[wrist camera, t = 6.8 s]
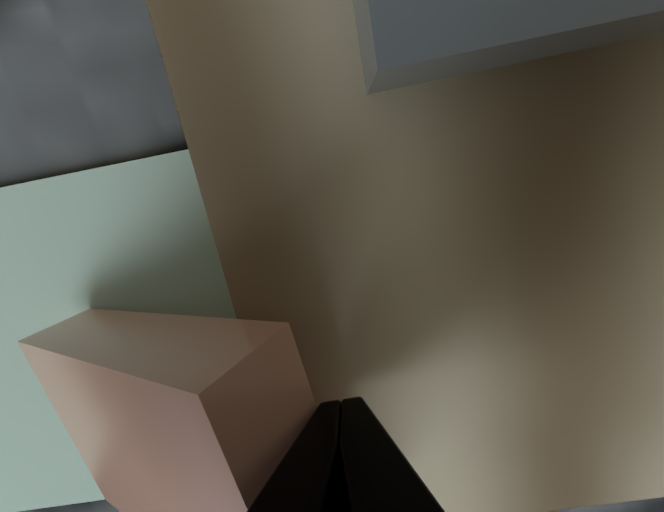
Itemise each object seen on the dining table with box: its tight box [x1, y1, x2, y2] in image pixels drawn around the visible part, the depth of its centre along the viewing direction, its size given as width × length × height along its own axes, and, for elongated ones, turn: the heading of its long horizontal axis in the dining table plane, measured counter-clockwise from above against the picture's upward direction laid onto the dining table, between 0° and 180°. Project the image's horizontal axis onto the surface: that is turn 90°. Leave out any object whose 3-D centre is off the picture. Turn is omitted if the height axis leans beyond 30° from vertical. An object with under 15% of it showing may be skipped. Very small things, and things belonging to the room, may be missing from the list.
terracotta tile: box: [17, 309, 317, 512], centre depth 9 cm, size 9×6×2 cm
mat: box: [0, 149, 237, 512], centre depth 13 cm, size 14×12×1 cm
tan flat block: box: [146, 0, 664, 512], centre depth 9 cm, size 14×18×4 cm
